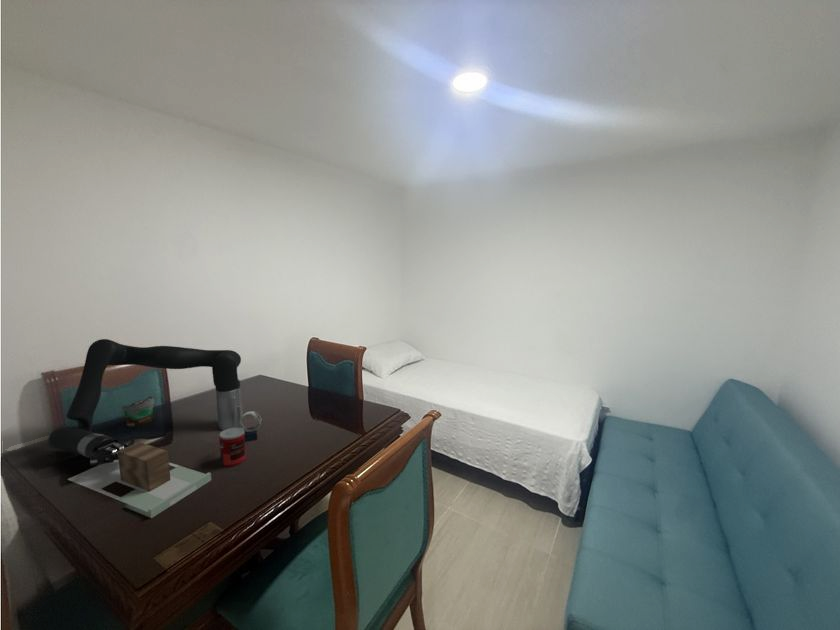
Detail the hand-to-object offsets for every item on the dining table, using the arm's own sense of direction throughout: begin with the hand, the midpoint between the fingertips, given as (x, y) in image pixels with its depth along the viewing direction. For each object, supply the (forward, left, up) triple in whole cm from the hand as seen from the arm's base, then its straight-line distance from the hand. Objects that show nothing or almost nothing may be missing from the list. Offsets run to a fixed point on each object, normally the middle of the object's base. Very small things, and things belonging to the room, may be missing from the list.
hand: (130, 457), depth 108 cm
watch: (-33, -17, -8) cm, 38 cm away
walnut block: (-5, +5, -6) cm, 9 cm away
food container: (+13, -45, -8) cm, 48 cm away
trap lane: (-3, +3, -8) cm, 9 cm away
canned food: (-29, -1, -8) cm, 30 cm away
